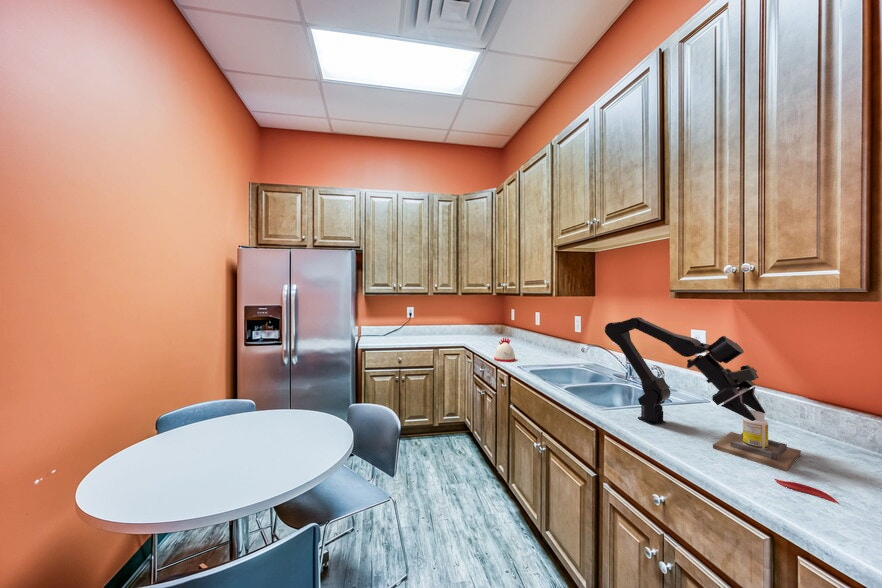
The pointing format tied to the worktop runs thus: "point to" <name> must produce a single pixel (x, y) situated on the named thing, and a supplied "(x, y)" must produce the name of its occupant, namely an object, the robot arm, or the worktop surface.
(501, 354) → the cream dome hat
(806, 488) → the cayenne pepper
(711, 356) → the robot arm
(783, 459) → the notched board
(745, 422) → the supplement bottle
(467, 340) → the worktop surface
